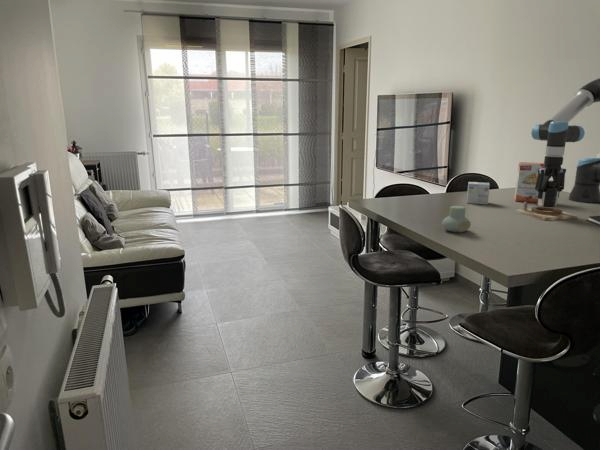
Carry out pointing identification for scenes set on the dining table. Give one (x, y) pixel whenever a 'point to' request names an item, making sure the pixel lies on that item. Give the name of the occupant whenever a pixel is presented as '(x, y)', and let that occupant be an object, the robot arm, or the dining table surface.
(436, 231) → the dining table surface
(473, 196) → the light bulb box
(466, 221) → the air freshener
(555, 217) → the seat plate
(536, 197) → the cracker box
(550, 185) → the supplement bottle
